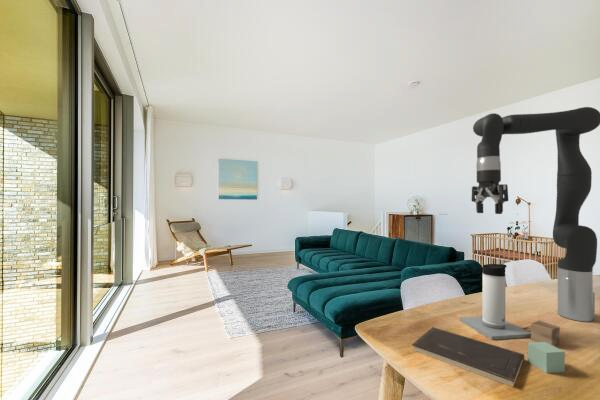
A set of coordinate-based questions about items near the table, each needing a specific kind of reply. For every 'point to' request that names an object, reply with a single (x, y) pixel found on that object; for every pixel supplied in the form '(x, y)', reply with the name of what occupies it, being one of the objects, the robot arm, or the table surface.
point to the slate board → (493, 333)
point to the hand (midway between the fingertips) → (488, 213)
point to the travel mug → (493, 295)
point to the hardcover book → (471, 355)
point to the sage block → (546, 357)
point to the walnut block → (545, 333)
